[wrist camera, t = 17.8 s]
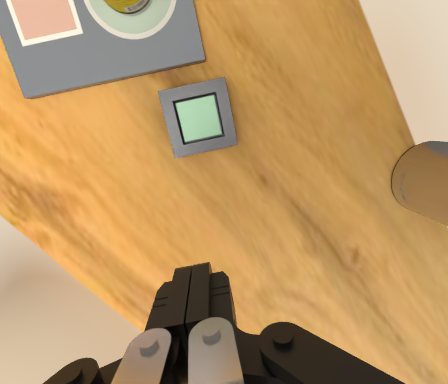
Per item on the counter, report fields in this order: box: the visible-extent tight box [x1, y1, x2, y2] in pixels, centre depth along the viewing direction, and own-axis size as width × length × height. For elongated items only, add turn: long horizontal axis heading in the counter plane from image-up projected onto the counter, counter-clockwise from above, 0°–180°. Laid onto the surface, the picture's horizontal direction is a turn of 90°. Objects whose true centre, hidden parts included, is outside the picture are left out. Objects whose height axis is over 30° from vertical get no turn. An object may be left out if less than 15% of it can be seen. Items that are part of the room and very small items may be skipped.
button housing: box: [158, 77, 238, 158], centre depth 30 cm, size 7×7×4 cm
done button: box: [176, 95, 221, 142], centre depth 29 cm, size 4×4×2 cm
